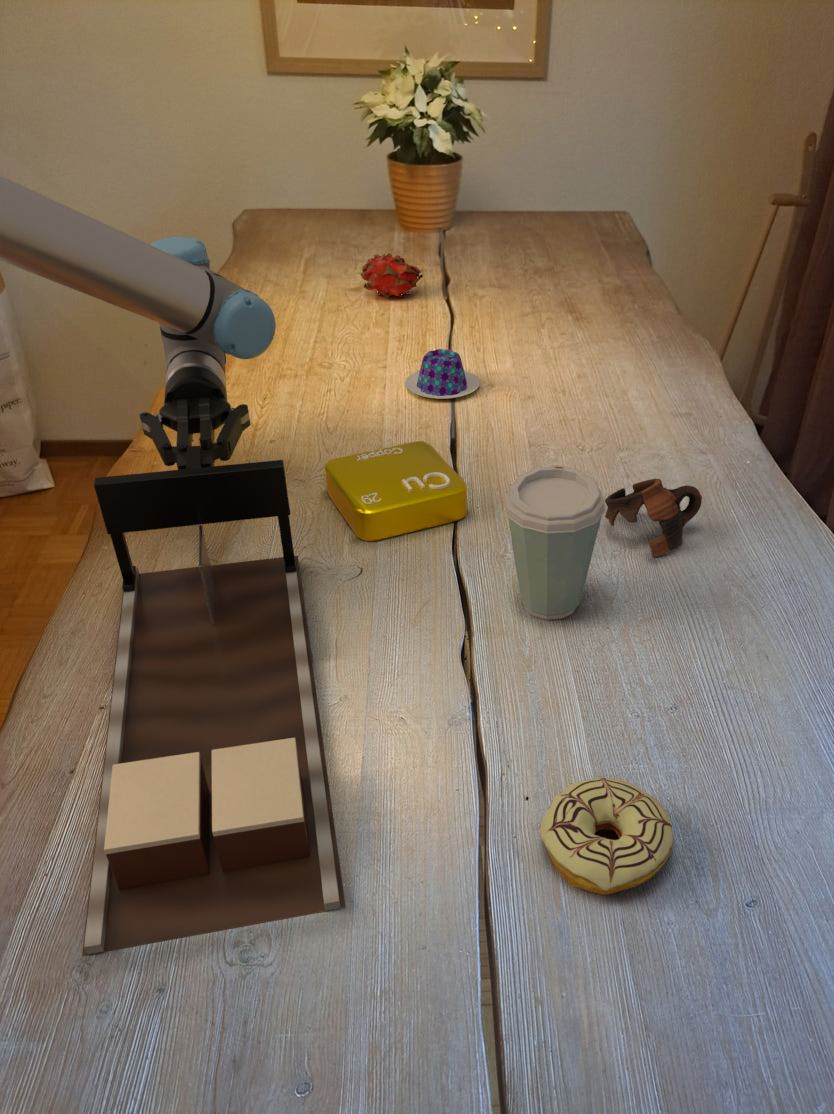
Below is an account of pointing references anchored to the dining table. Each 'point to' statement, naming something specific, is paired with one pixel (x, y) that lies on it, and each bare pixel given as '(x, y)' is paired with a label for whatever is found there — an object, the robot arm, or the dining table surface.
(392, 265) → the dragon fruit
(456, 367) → the pudding
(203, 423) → the robot arm
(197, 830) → the cake
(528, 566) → the disposable coffee cup
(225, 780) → the cake
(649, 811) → the decorated donut
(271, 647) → the brown long flat board
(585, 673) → the dining table surface
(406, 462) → the element tile
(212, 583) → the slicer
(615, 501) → the pottery mug
